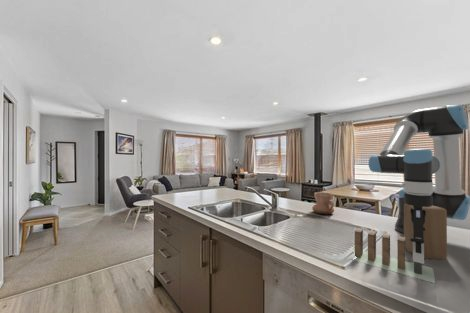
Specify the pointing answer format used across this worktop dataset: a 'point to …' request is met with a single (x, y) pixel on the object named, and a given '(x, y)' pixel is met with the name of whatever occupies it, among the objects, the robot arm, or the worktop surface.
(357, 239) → the domino end
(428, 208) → the block
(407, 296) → the worktop surface
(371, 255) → the domino
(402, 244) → the domino
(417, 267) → the dark gray domino
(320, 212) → the ceramic jug
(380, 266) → the mat
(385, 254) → the domino
